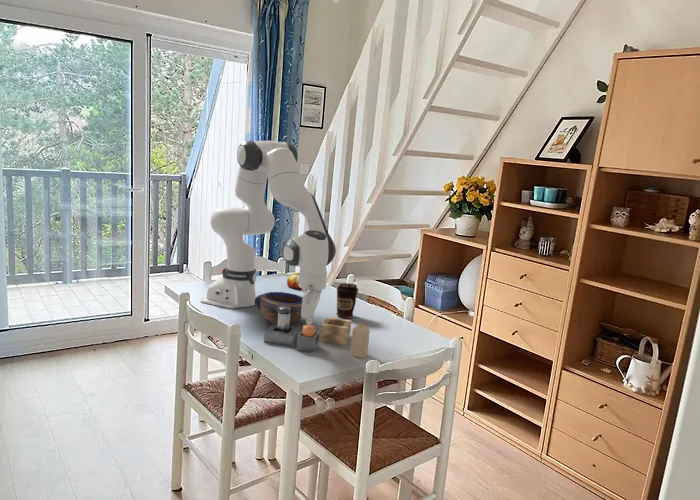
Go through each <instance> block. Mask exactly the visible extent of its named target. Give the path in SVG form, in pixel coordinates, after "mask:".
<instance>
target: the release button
mask: <svg viewBox="0 0 700 500" xmlns="http://www.w3.org/2000/svg"><path fill="white" fill-rule="evenodd" d="M302 330H303V334H302V336H309V337H314V336H315V332H316V325H313V324H304V325H302Z"/></svg>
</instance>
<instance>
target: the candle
mask: <svg viewBox="0 0 700 500" xmlns="http://www.w3.org/2000/svg"><path fill="white" fill-rule="evenodd" d="M369 340H370V329H369V327H368V326H367V325H364V324H363V323H359V324H357V325H355V326H354V327H352V332H351V344H350V345H351V346H350V355H351V356H352V357H354V358H359V359H362V358H366V357H367V356H368V352H369V343H370V341H369Z"/></svg>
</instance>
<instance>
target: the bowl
mask: <svg viewBox="0 0 700 500" xmlns="http://www.w3.org/2000/svg"><path fill="white" fill-rule="evenodd" d="M302 299H303V296H300V295H298V294H295V293H289V292H283V291H270V292H265V293H262V294H259V295H256V299H255V305H254V306H256V307H257V309H258V311H259V312H260V314H261V315H262V316H263V318H264V319H265V320H266V321H268V323H270V324H271V325H272V324H273V323H278V308H279V307H281V306H286V307H290V308H291V311H290V324H289V325H293V324H295V323H297V322H298V321H300V320H301V319H302V318H303V317H301V309H302Z"/></svg>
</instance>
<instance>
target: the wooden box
mask: <svg viewBox="0 0 700 500" xmlns="http://www.w3.org/2000/svg"><path fill="white" fill-rule="evenodd" d="M351 327H352V320H351V319H346V318H339V317H337V318H336V317H328V316H326V318H325V319H324V320H323V322H322V323H321V325H320V333H319V343H320V342H321V343H329V344H336V345H341V346H346V345H347V343H348V341H349V339H350V338H351V330H352V328H351Z"/></svg>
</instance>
